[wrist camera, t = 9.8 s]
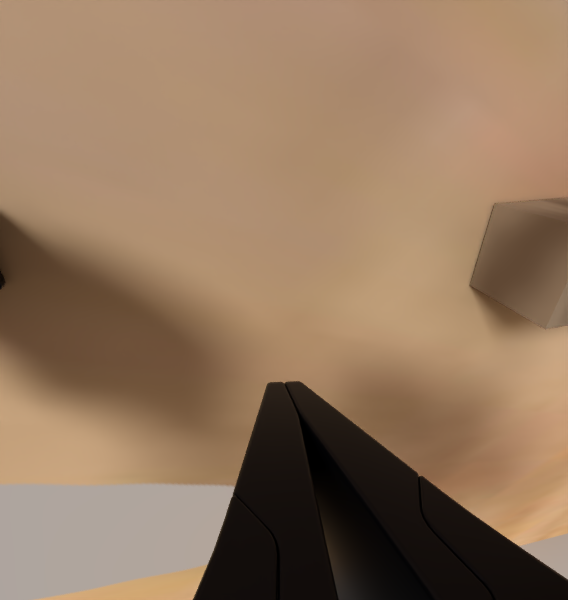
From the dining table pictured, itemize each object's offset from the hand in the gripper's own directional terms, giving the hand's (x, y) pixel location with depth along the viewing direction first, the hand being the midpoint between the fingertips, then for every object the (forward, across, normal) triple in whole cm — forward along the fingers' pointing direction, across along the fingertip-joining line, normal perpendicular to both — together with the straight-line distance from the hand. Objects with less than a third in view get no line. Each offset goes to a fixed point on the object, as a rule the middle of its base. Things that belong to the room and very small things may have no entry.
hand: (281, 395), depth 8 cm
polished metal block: (+10, +17, 0) cm, 19 cm away
